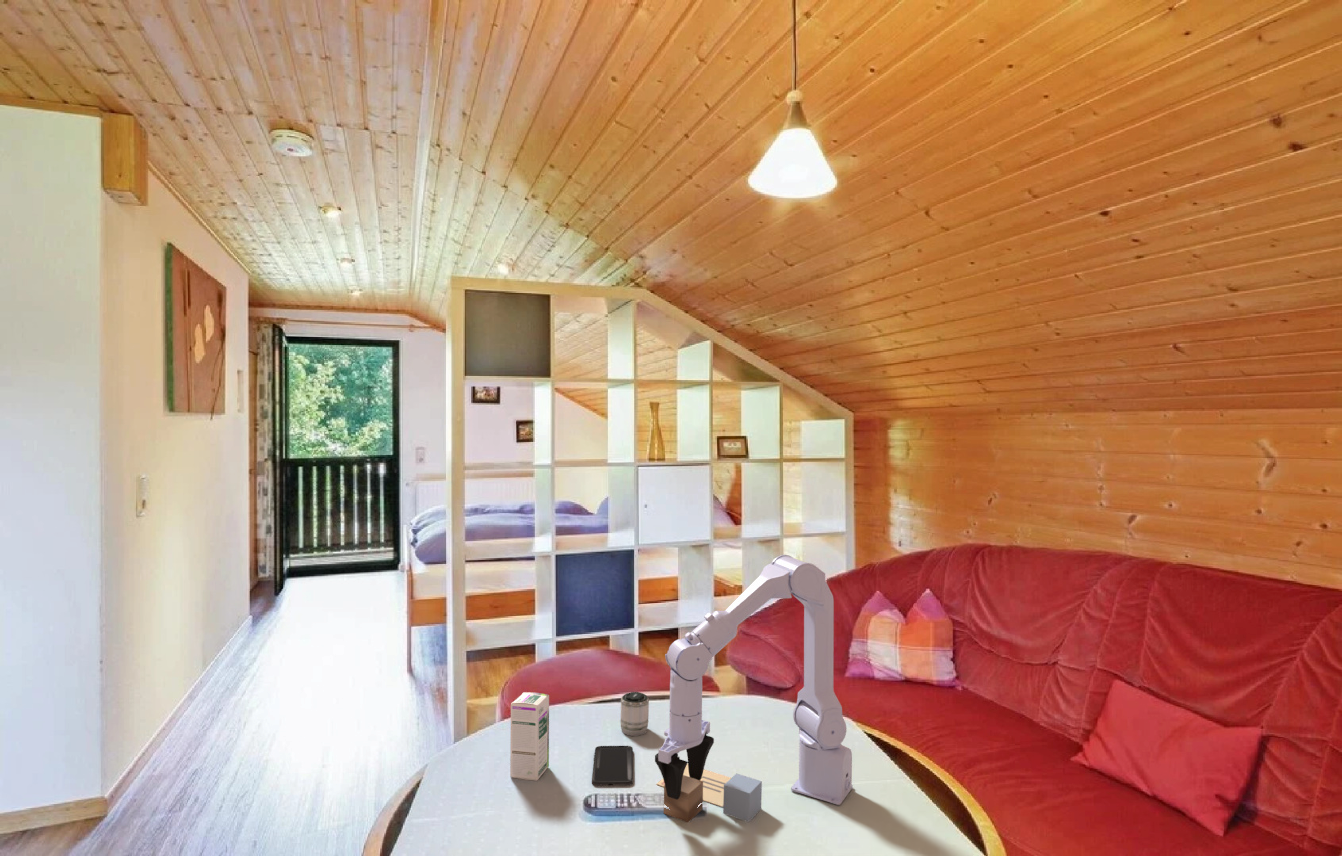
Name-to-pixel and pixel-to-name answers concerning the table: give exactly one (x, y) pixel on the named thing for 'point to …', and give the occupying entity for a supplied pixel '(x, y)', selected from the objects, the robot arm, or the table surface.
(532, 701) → the syrup box
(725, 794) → the cube
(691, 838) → the table surface
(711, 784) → the envelope
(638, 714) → the camera lens
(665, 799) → the walnut block
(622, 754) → the phone
